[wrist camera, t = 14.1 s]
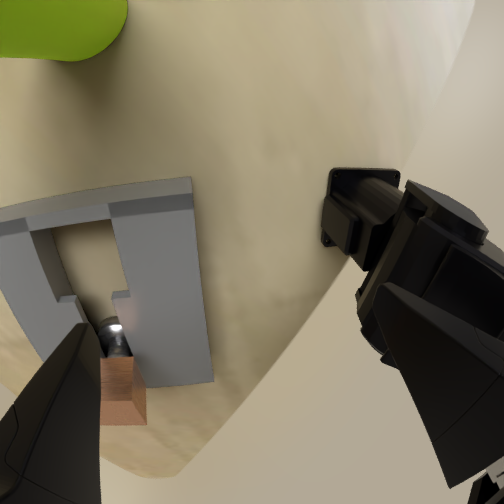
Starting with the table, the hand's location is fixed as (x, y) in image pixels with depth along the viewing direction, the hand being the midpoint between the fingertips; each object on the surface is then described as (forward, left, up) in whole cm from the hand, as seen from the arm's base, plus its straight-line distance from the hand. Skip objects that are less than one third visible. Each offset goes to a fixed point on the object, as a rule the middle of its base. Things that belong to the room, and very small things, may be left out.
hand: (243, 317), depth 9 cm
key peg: (+9, +14, -13) cm, 21 cm away
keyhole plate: (+9, +10, -13) cm, 19 cm away
